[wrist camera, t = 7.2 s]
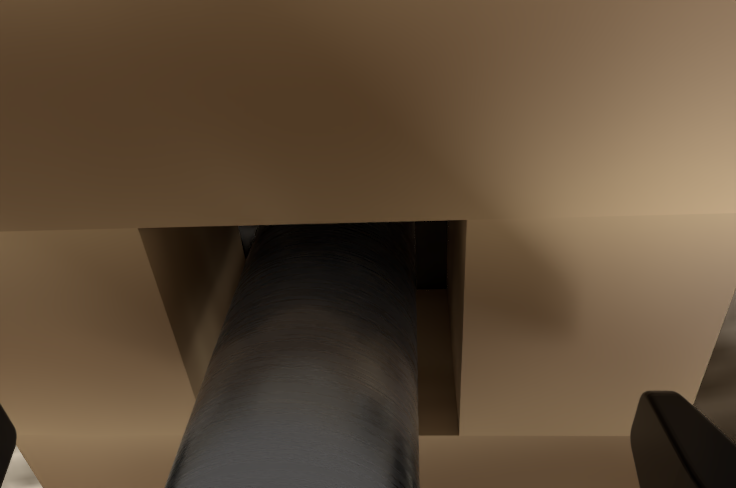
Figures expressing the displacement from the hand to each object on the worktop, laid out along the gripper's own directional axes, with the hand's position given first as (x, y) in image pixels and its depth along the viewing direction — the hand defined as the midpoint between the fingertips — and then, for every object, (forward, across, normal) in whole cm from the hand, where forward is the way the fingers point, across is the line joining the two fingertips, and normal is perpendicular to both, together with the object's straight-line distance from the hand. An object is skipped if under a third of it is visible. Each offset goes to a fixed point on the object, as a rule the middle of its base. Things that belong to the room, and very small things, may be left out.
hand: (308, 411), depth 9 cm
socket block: (+5, 0, 0) cm, 5 cm away
